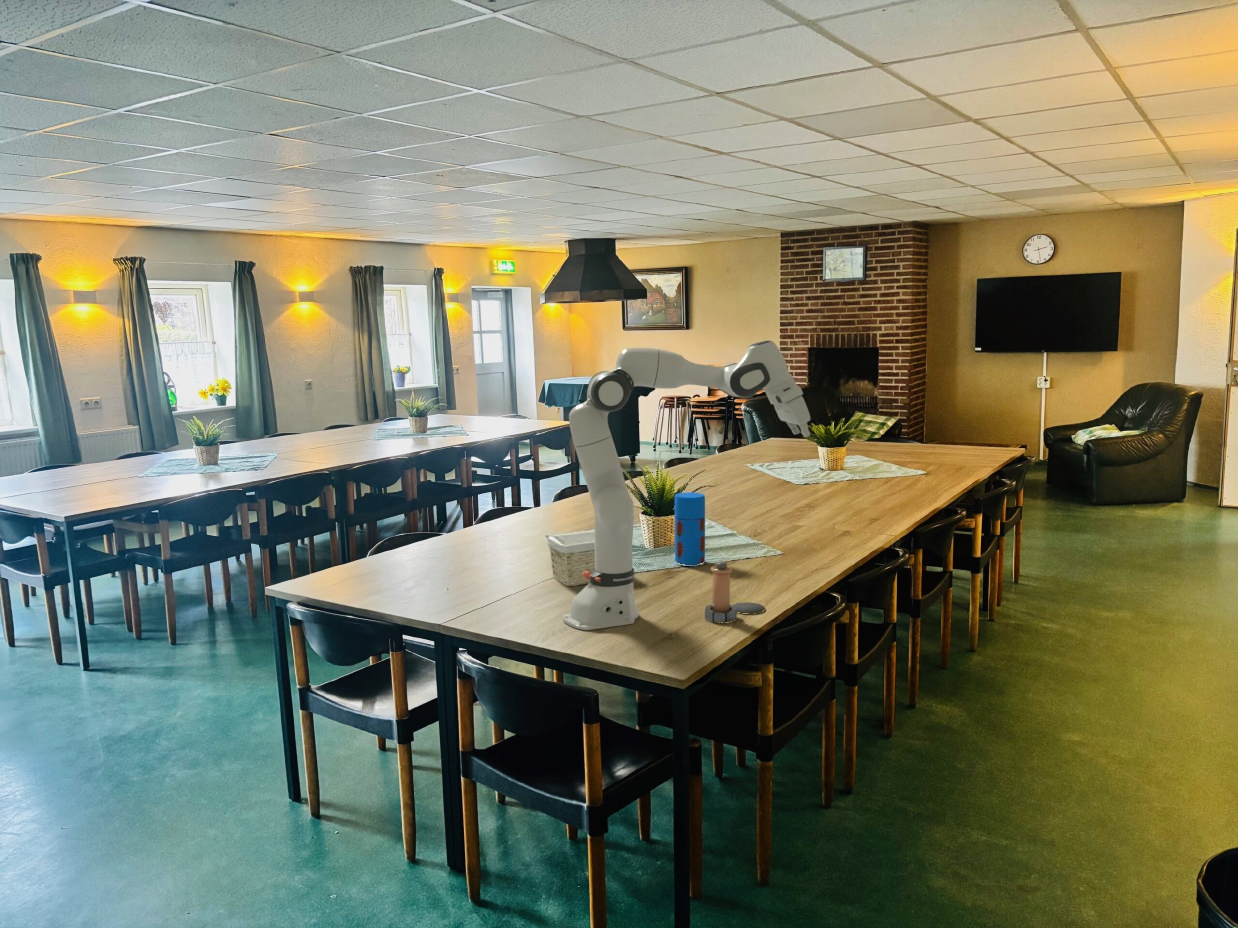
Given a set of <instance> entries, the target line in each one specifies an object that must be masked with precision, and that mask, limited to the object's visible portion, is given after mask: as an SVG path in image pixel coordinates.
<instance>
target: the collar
mask: <svg viewBox="0 0 1238 928" xmlns="http://www.w3.org/2000/svg"><path fill="white" fill-rule="evenodd" d="M732 605H733V604H730V611H726V612H716V611H713V610H712V604H709V605H706V606H705V609H704V619H706V620H705V621H707V620H709V621H711V622H710V623H712V622H720V623H721V622H723V623H725V622H730V621H734V620H736V619H738V613H737V607H735V606H732ZM709 621H708V622H709ZM736 621H737V620H736ZM720 623H719V624H720ZM725 624H726V623H725Z"/></svg>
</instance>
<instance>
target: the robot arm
mask: <svg viewBox="0 0 1238 928" xmlns="http://www.w3.org/2000/svg"><path fill="white" fill-rule="evenodd" d="M688 385H691V386H692V385H693V386H701V387H708V388H715V389H717V390H720V391H722V392H723V393H724V394H726V395H728V396H730V397H734V398H745V399H746V398H751V397H753V396H755V395H756V394H757V393H758V392H760V391H761V390H763V391H764V393H765V394H766V396H767V399H768V401H769V402H770V403H769V404H770V405H773V407H774V410H775V412H776V414H777V416H778V419H779V420H780V421H782V422H785V423H786V424H787V426H788V427H789V428H790V430H791V432H792V433H793V435H798V434H800V433H801V435H802V436H803V438H808V437H809V436H811V433H810V430H809V425H808V422H810V421H811V415H810V411H809V409H808V406H807V403H806V402H805V399H804V397H803V395H804V392H803V390H802V388H801V387H800V386H799V385H798V384H797V383H796V381H795V379H794V377H793V374H791V372H790V371H789V370H788V367H787V362H786V360H785V357H784V355H783V354H782V351H781V350H780V348H779V346H777V344H776V343H775V342H774V341H772V340H763V341H758V342H755V343H753V344H751V345H749V346H748V347H747V350H746V352H745V354H744V355H743V356H742V357H741V359H740V360H739V361H738V362H734V363H729V364H726V365H724V366H715V365H709V364H708V365H707V364H702V363H701V364H700V363H695V362H691V361H690V360H687V359H686V358H685V357H684V356H683V355H681V354H679V353H676V352H673V351H670V350H665V349H660V348H659V349H658V348H653V347H650V348H649V347H627V348H625V349H623V350H622V351H621V352H620V353H619V354H618V357H617V359H616V363H615V367H614V368H613V369H612V370H610V371H609V370H603V371H600V372H597V373H595V374H594V375H593V376H592V377H591V378H590V380H589V382H588V384H587V388H586V393H585V397H584V402H581V403H579V404H577V405H576V406H574V407H573V408H572V409H571V410H570V412H569V414H568V420H569V429H570V434H571V438H572V439H571V440H572V442H573V445H574V449H575V453H576V455H577V459H578V461H579V465H580V468H581V471H582V475H583V477H584V480H585V484H586V487H587V490H588V493H589V494H588V495H589V496H590V499H591V503H592V507H593V509H594V530H595V542H594V545H595V569H594V570H593V573H592V574H591V573H590V572H588V571H585V572H584V573H583V577H584V578H587V579H590V578H591V579H590V583H589V584H586V585H585V587H584V588H583V589H581V590H580V591H579V592H578V593H577V594H576V595H575V596H574V597H573V598H572V601H571V604H570V610H569V611H570V612H569V613H565V614H563V615H562V621H563V623H565V624H566V625H567V626H570V627H572V628H575V629H578V630H583V631H590V630H591V631H593V630H599V629H606V628H612V627H620V626H626V625H634V624H635V620H637V618H638V617H639V615H640V614H639V611H638V609H637V608H638V607H637V603H636V597H635V590H634V585H635V570H634V568H633V536H634V523H635V522H634V519H635V515H634V514H635V505H634V501H633V499H632V497H631V496H630V492H629V490H628V488H627V484H626V480H625V477H624V472H623V470H622V466H621V462H620V458H619V456H618V453H617V450H616V446H615V443H614V440H613V436H612V433H611V431H610V428H609V421H608V415H609V413H612V412H616V411H619V410H621V409H622V408H623V407H625V405H626V404H627V402H628V401H629V398H630V396H631V393H632V391H633V390H634V387H644V388H652V389H653V388H654V389H665V390H667V389H678V388H680V387H683V386H688Z"/></svg>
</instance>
